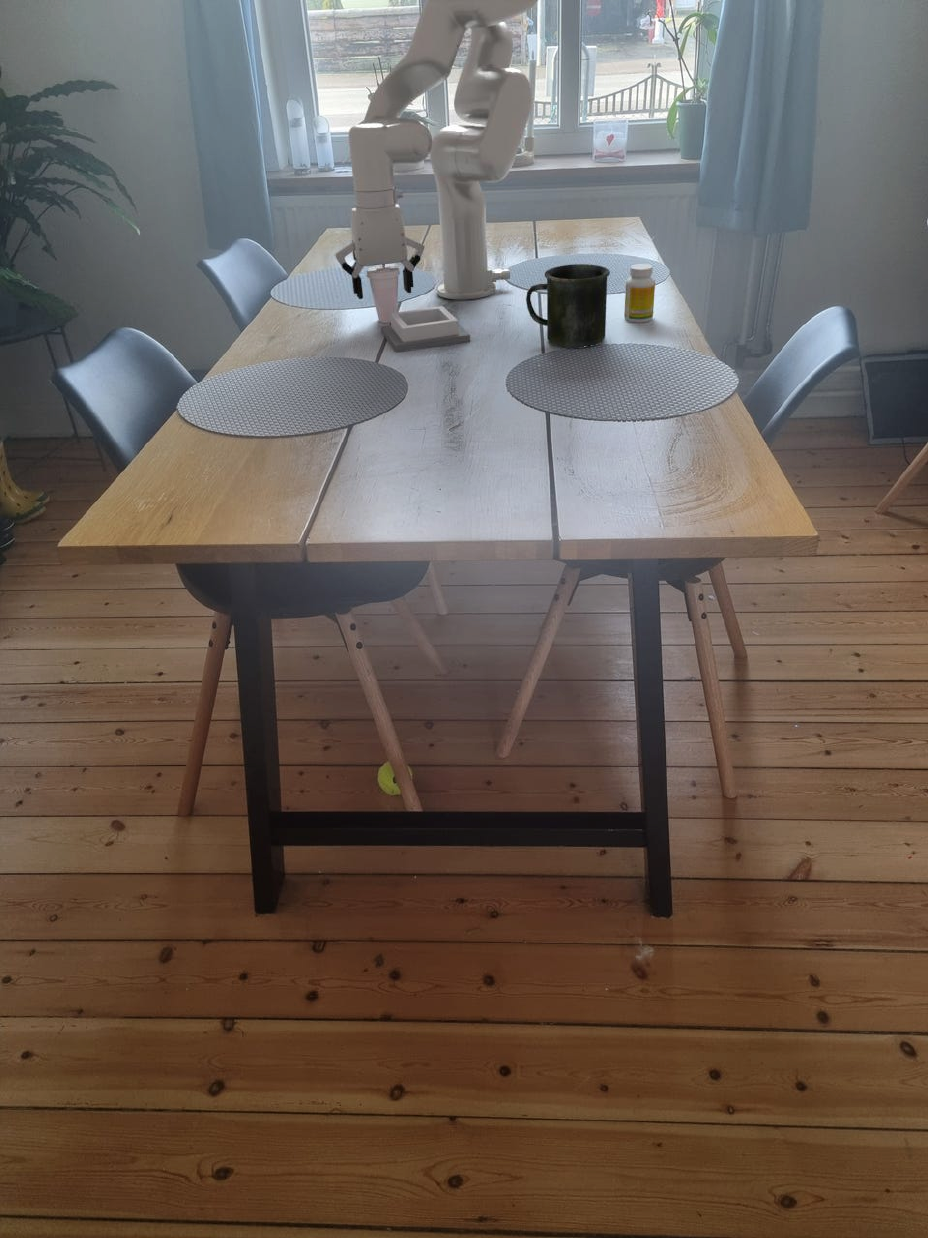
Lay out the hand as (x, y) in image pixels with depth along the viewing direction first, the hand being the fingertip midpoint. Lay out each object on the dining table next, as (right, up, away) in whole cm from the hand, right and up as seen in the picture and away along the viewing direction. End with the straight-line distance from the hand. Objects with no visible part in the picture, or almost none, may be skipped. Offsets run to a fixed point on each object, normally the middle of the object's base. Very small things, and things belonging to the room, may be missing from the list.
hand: (384, 294), depth 177 cm
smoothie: (+1, -4, +3) cm, 5 cm away
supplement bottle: (+49, -7, -5) cm, 50 cm away
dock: (+8, -11, -7) cm, 15 cm away
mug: (+34, -13, -14) cm, 39 cm away
